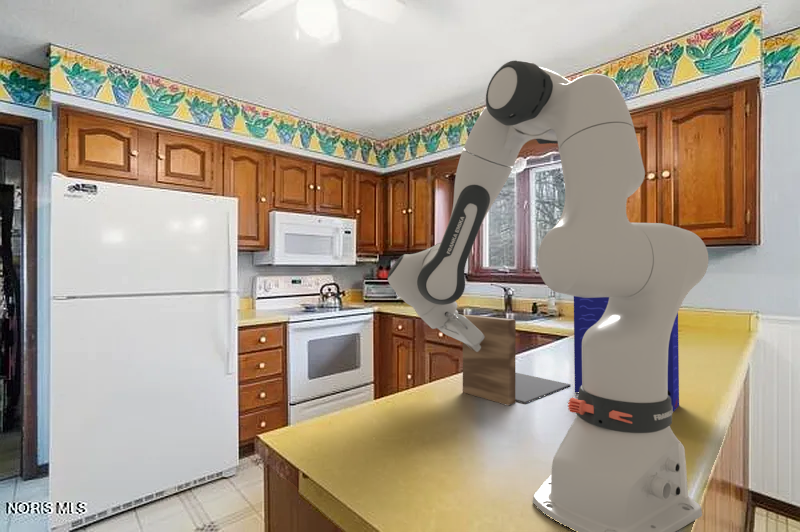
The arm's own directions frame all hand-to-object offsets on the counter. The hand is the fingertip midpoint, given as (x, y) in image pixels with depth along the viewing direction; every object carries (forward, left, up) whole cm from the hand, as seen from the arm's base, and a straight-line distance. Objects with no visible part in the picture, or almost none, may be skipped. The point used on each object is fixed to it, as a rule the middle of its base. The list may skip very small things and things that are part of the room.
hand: (477, 348), depth 104 cm
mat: (+16, -1, -12) cm, 20 cm away
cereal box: (+27, -24, -13) cm, 38 cm away
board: (+3, -1, -12) cm, 13 cm away
